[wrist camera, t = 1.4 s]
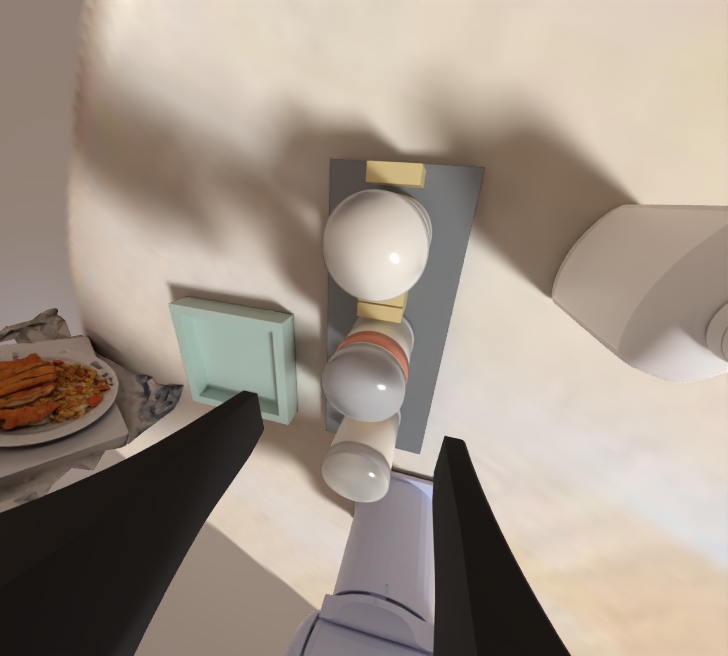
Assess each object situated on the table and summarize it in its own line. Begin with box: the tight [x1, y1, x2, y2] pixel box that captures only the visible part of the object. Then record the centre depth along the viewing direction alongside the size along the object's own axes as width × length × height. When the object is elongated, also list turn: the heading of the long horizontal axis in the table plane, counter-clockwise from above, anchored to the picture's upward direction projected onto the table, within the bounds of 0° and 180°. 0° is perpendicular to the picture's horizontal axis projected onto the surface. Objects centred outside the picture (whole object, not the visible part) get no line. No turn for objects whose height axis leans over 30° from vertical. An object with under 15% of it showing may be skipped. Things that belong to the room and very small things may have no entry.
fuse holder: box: [326, 159, 485, 454], centre depth 18 cm, size 20×8×4 cm, turn 176°
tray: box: [168, 296, 298, 425], centre depth 23 cm, size 10×10×2 cm
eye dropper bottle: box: [552, 204, 728, 383], centre depth 10 cm, size 4×6×12 cm
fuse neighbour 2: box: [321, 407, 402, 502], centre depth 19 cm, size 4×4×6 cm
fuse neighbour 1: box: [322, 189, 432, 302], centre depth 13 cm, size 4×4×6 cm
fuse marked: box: [321, 314, 414, 422], centre depth 16 cm, size 4×4×6 cm
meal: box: [0, 308, 183, 513], centre depth 22 cm, size 15×4×13 cm, turn 57°
